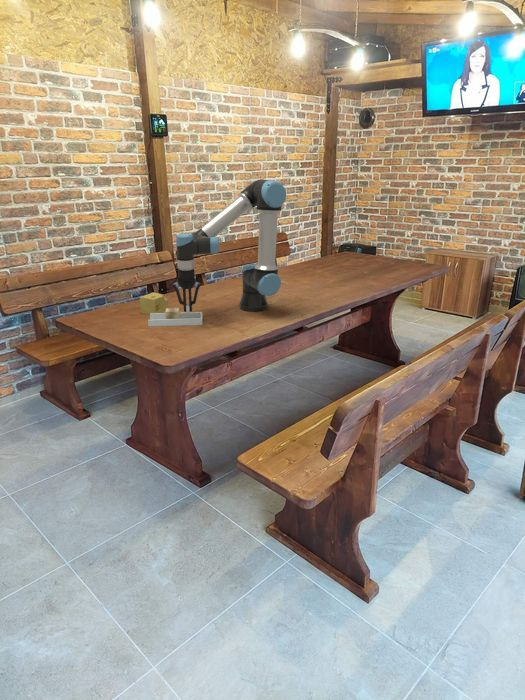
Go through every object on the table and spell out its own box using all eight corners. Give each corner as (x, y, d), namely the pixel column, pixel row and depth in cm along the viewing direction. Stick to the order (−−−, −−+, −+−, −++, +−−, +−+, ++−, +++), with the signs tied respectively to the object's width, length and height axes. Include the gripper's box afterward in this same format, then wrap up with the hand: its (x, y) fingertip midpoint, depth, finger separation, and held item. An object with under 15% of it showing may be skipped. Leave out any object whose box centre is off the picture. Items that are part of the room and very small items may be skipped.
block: (179, 320, 235) (179, 308, 233) (179, 324, 229) (178, 311, 227) (167, 320, 234) (166, 308, 232) (166, 324, 229) (165, 312, 226)
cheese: (169, 313, 250) (168, 294, 246) (155, 319, 241) (154, 299, 237) (154, 310, 255) (153, 291, 251) (139, 315, 246) (138, 296, 242)
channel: (202, 320, 239) (202, 312, 237) (202, 327, 229) (202, 318, 227) (150, 322, 236) (149, 313, 234) (148, 329, 226) (147, 320, 224)
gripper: (200, 266, 227) (202, 315, 236) (171, 267, 226) (174, 316, 234) (200, 270, 221) (202, 320, 229) (171, 270, 219) (174, 321, 228)
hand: (188, 318), depth 232 cm, fingers closed
